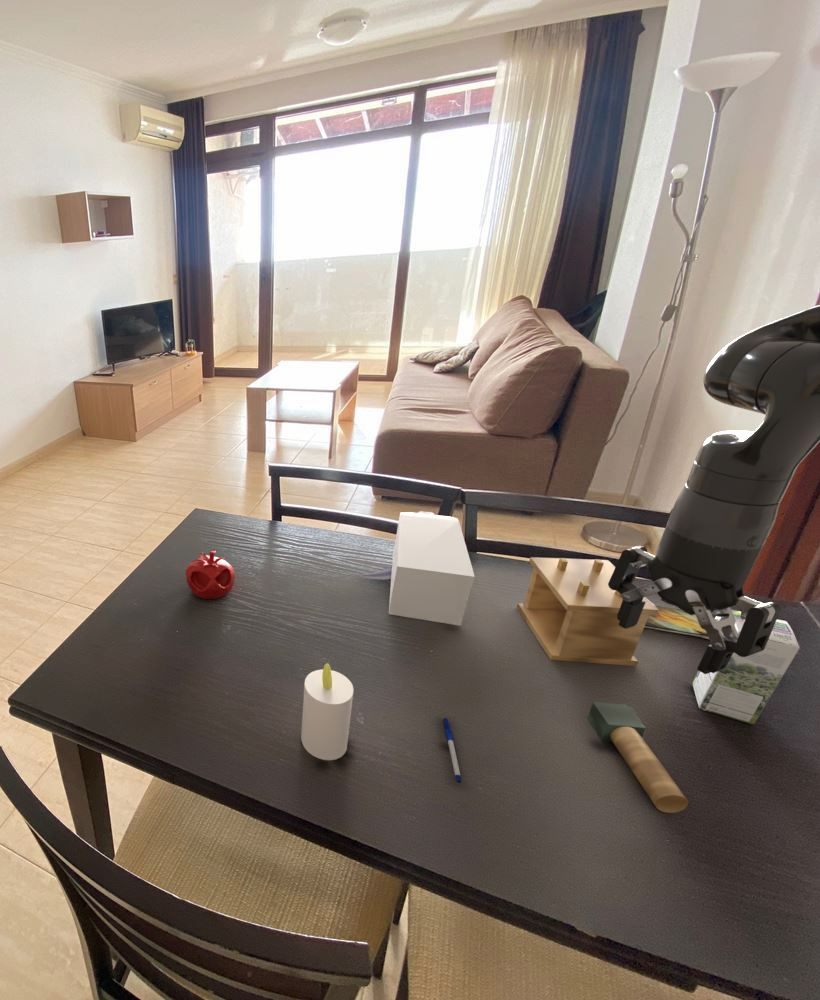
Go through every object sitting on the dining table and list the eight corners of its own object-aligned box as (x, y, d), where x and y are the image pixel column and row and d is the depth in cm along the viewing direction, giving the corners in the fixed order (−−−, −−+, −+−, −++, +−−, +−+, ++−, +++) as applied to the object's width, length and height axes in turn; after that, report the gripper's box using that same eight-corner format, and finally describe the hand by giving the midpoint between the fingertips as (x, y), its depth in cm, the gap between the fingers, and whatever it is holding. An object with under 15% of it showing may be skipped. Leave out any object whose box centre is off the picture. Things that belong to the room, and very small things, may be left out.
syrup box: (744, 698, 78) (788, 618, 72) (754, 727, 74) (802, 644, 67) (691, 684, 81) (728, 606, 75) (698, 710, 77) (738, 630, 70)
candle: (356, 738, 77) (366, 657, 70) (332, 768, 73) (341, 685, 66) (316, 715, 81) (322, 637, 74) (292, 742, 77) (296, 662, 70)
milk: (460, 625, 96) (448, 541, 117) (474, 576, 90) (458, 496, 111) (388, 614, 100) (388, 534, 121) (397, 566, 94) (395, 490, 115)
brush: (689, 815, 64) (698, 797, 62) (645, 810, 65) (654, 792, 63) (622, 721, 76) (629, 704, 75) (586, 718, 77) (592, 701, 76)
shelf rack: (590, 611, 97) (611, 551, 92) (636, 666, 85) (663, 600, 79) (516, 607, 100) (532, 548, 94) (550, 659, 87) (571, 595, 82)
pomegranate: (186, 577, 116) (184, 540, 112) (232, 575, 116) (232, 538, 112) (187, 605, 108) (184, 566, 104) (237, 603, 107) (236, 564, 103)
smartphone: (617, 599, 99) (727, 616, 92) (616, 602, 99) (725, 619, 93) (628, 622, 93) (746, 642, 87) (627, 625, 93) (744, 645, 87)
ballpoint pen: (441, 719, 79) (442, 714, 78) (447, 720, 79) (448, 716, 78) (456, 783, 70) (457, 778, 69) (463, 784, 70) (465, 779, 69)
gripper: (830, 553, 52) (761, 679, 59) (666, 497, 65) (625, 606, 72) (777, 570, 51) (712, 697, 58) (619, 508, 63) (582, 619, 70)
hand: (664, 646), depth 65 cm, fingers open, 8 cm apart
